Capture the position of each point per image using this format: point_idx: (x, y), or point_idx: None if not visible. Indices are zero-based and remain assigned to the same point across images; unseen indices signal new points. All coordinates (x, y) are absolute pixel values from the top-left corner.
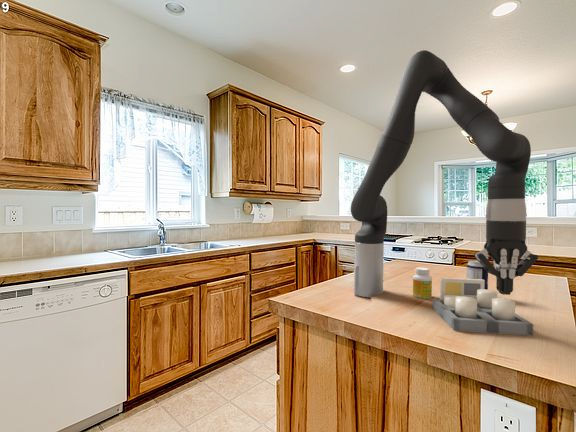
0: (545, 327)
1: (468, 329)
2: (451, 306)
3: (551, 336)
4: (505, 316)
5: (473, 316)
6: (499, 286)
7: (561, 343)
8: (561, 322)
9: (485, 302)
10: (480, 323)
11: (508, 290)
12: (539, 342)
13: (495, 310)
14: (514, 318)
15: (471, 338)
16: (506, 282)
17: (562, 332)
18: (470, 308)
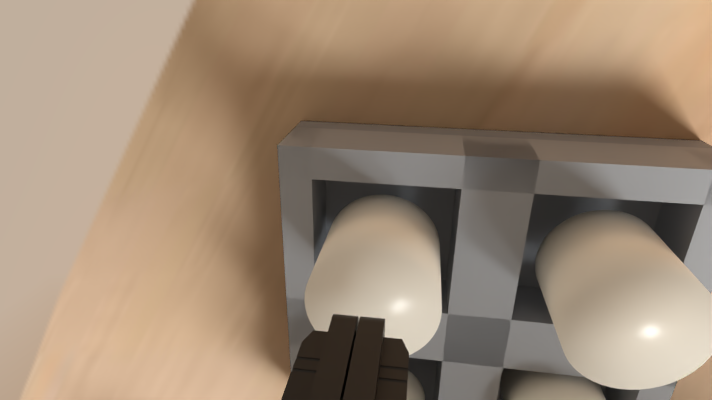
0: (168, 273)
1: (630, 148)
2: (593, 391)
3: (192, 176)
4: (398, 208)
5: (589, 218)
6: (406, 375)
7: (188, 99)
8: (80, 327)
9: None
10: (573, 156)
11: (344, 334)
12: (283, 97)
13: (438, 255)
14: (341, 213)
15: (623, 101)
16: (351, 389)
17: (125, 225)
18: (631, 244)
